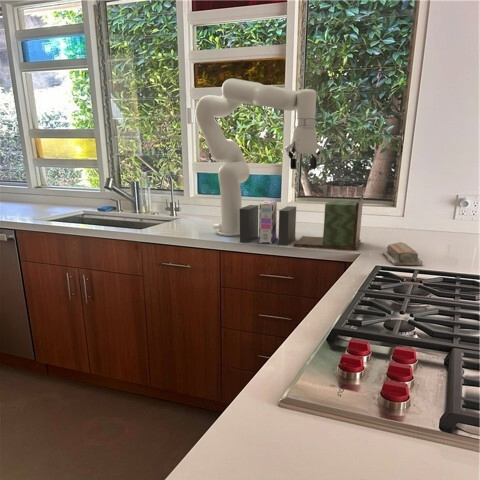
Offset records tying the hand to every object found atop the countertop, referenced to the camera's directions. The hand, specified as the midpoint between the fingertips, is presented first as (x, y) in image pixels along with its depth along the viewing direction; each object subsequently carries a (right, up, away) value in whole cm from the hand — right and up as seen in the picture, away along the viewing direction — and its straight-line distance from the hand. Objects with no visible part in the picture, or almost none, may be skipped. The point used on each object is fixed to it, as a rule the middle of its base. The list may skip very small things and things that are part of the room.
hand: (303, 168), depth 191 cm
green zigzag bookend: (+11, -31, +2) cm, 33 cm away
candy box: (-14, -28, +10) cm, 33 cm away
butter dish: (+32, -41, -24) cm, 57 cm away
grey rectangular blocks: (-14, -28, +10) cm, 33 cm away
